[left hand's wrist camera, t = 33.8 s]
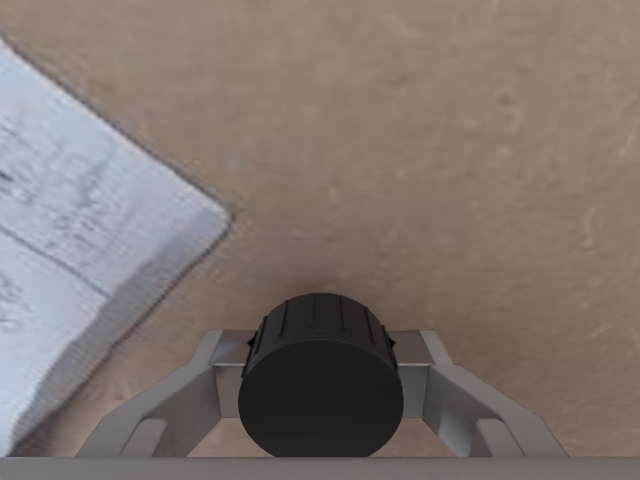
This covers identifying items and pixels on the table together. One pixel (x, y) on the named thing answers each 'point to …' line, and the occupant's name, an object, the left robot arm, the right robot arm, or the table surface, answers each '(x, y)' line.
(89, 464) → the left robot arm
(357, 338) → the cap
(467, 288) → the table surface
